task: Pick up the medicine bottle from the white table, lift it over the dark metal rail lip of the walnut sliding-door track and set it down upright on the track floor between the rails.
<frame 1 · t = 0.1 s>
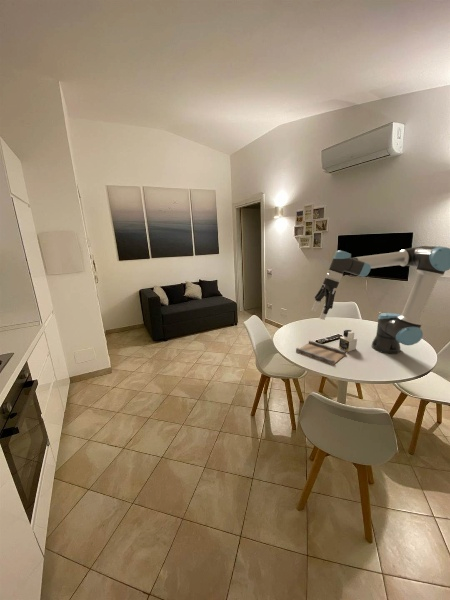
hand: (317, 315, 136), 28 cm above the table, tool tilted 20°, fingers open, 13 cm apart
medicine bottle: (347, 348, 156), on the table
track: (320, 353, 151), on the table
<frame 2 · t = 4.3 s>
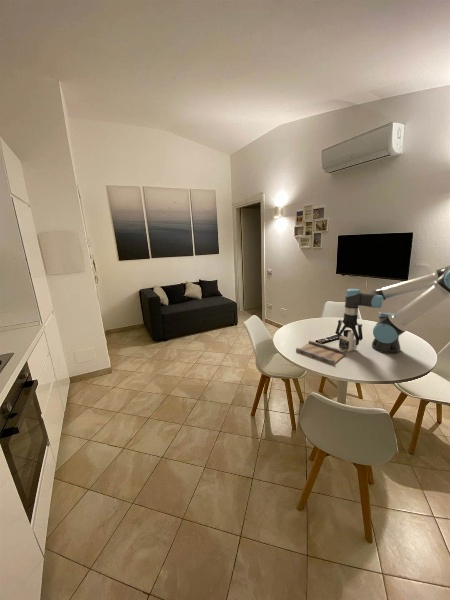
hand: (347, 347, 156), 1 cm above the table, tool pointing down, fingers closed on medicine bottle, 8 cm apart
medicine bottle: (347, 348, 156), on the table, touching gripper
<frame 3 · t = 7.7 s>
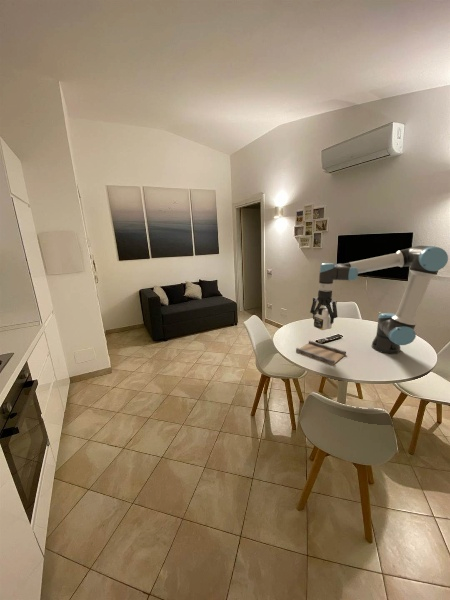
hand: (322, 326, 147), 18 cm above the table, tool pointing down, fingers closed on medicine bottle, 8 cm apart
medicine bottle: (322, 327, 147), point 17 cm above the table, touching gripper
when the fingers open (3 cm above the table, at t = 10.9 s): medicine bottle drops 1 cm, resting on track.
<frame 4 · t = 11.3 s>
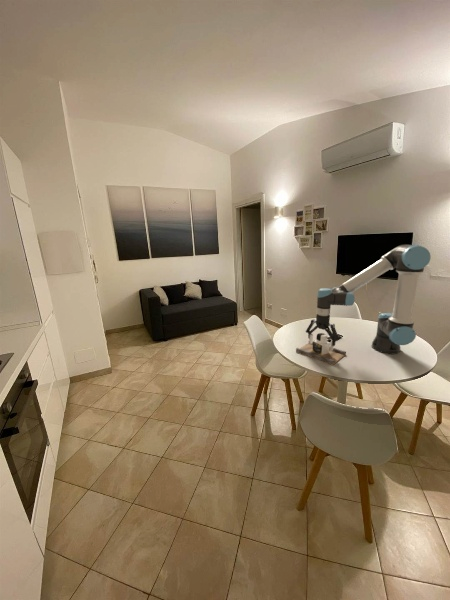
hand: (320, 346, 150), 4 cm above the table, tool pointing down, fingers open, 13 cm apart
medicine bottle: (320, 352, 151), resting on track
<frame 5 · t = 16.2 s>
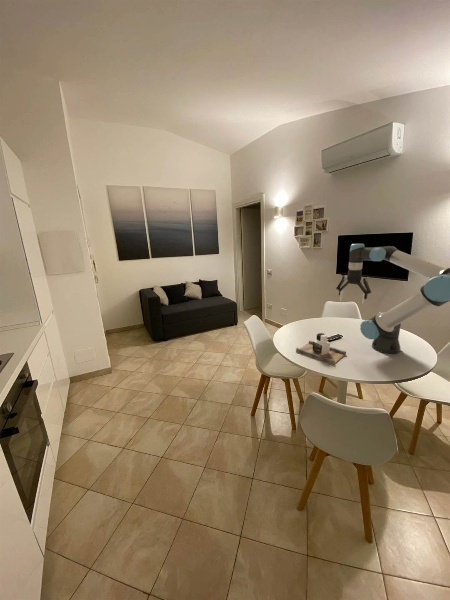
hand: (351, 302, 156), 29 cm above the table, tool pointing down, fingers open, 13 cm apart
nothing on the table moved.
at the end: medicine bottle inside the target area on the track (0.2 cm from its centre), point 0.4 cm above the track's base; medicine bottle tilted 0°; the gripper is holding nothing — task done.
